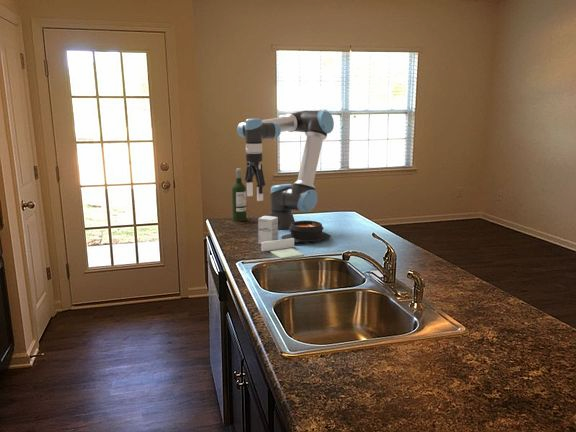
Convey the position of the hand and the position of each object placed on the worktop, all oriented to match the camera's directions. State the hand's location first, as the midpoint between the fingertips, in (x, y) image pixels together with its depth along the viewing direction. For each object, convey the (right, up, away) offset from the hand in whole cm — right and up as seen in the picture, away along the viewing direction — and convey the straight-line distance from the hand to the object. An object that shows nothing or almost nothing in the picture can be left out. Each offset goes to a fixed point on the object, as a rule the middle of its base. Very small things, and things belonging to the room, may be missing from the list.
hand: (254, 198), depth 226 cm
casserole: (+24, -20, +10) cm, 33 cm away
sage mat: (+15, -25, -13) cm, 32 cm away
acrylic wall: (+11, -23, -6) cm, 26 cm away
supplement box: (+6, -21, +4) cm, 23 cm away
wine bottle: (-13, -11, +54) cm, 57 cm away
